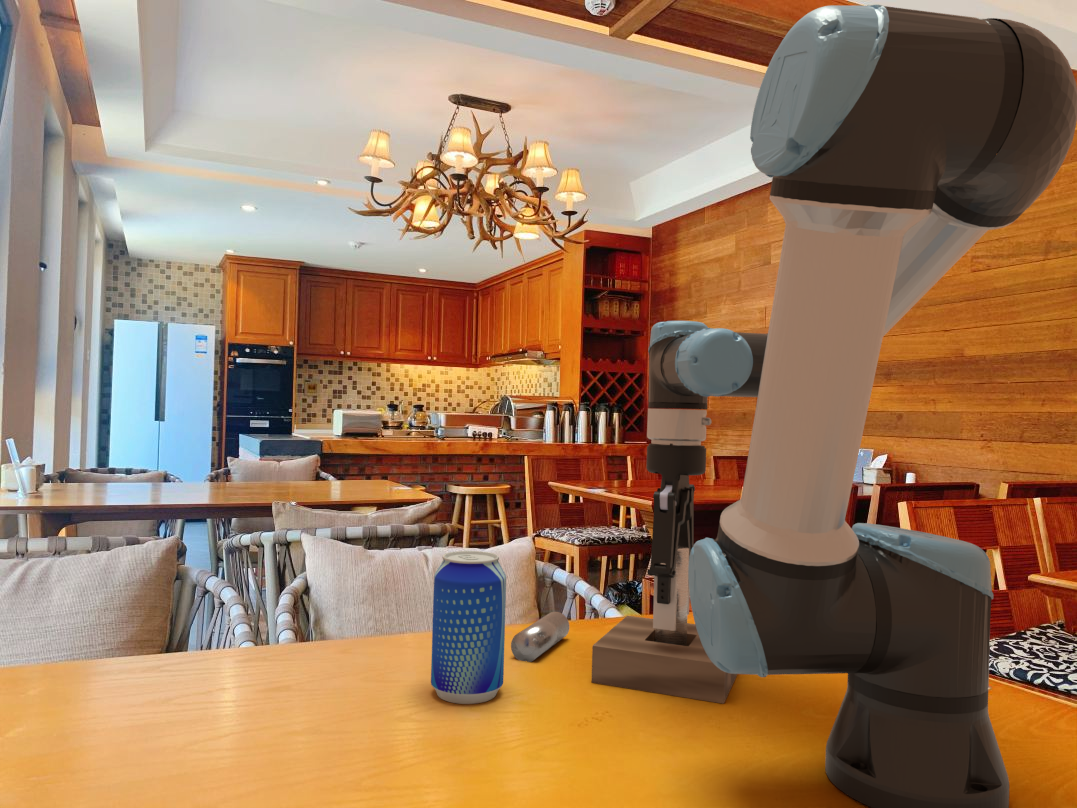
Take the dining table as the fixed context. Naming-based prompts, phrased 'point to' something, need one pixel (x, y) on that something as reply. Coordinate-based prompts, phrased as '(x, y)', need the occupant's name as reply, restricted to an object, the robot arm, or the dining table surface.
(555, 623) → the lying peg
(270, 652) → the dining table surface
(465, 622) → the beer can
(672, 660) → the socket block
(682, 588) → the peg
